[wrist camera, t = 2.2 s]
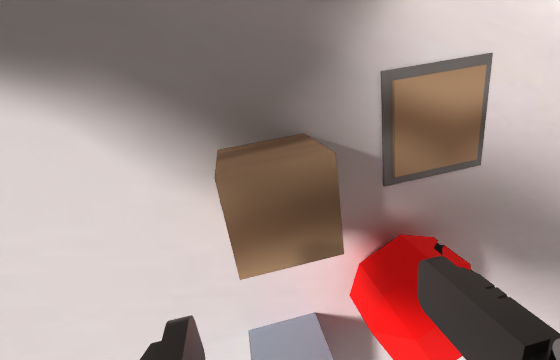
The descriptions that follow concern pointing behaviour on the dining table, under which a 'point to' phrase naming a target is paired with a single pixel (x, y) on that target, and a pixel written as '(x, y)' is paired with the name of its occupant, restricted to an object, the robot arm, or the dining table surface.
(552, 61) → the dining table surface
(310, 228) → the walnut cube
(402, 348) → the ball
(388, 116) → the walnut swatch
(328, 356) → the slate cube
